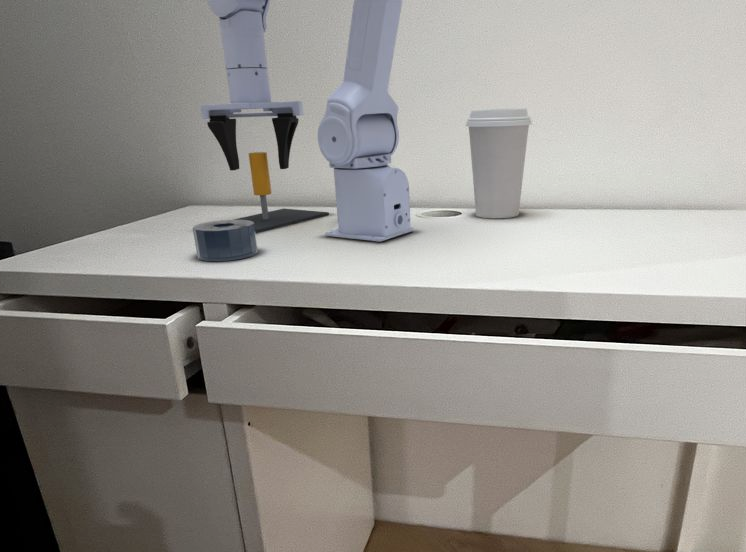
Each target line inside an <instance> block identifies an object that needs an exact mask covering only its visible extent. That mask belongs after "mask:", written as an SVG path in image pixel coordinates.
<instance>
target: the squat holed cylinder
mask: <svg viewBox="0 0 746 552" xmlns="http://www.w3.org/2000/svg"><path fill="white" fill-rule="evenodd" d="M192 232H193V239H194V240H193V241H194V245H195V250H196V255H197V258H198V260H201V261H203V262H229V261H230V262H232V261H238V260H243V259H248V258H250V257H253V256H255V255H257V254H258V241H257V235H256V234H257V233H255V226H254V222H252V221H249V220H234V219H221V220H213V221H207V222H206V221H205V222H201V223H197V224H195V225H194V226H193V227H192Z"/></svg>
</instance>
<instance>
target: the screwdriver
mask: <svg viewBox="0 0 746 552" xmlns="http://www.w3.org/2000/svg"><path fill="white" fill-rule="evenodd" d="M248 159H249V165H250V166H249V167H250V176H251V183H252V191H253V196H259V200H260V206H261V213H262V216H263V220H268V219H269V216H268V212H269V207H268V200H267V196H269V195H272V187H271V177H270V169H269V160H268V153H267V152H266V151H258V152H257V151H255V152H249V153H248Z"/></svg>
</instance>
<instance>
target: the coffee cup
mask: <svg viewBox="0 0 746 552" xmlns="http://www.w3.org/2000/svg"><path fill="white" fill-rule="evenodd" d="M531 125H533V121H532V119H531V116H530V115H529V113H528V109H527V108H492V109H491V108H489V109H471V111H470V114H469V117H468V118H467V120H466V123H465V127H468V135H469V145H470V146H469V147H470V157H471V169H472V171H471V173H472V184H473V195H474V197H473V198H474V207H475V216H476V217H478V218H483V219H510V218H515V217H518V216H519V215H520V208H521V207H520V206H521V197H522V189H523V178H524V169H525V161H526V152H527V143H528V135H529V128H530V126H531Z"/></svg>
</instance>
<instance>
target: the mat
mask: <svg viewBox="0 0 746 552" xmlns="http://www.w3.org/2000/svg"><path fill="white" fill-rule="evenodd" d="M329 215H330V212H329V211H318V210H306V209H293V208H279V209H276V210H271V211H268V216H269V219H268V220H263V216H262V212H261V213H257V214H253V215H252V214H251V215H247V216H244V217H239V218H233V220H249V221H252V222H254V226H255V234H257V233H261V232H265V231H266V232H267V231H269V230H274V229H277V228H281V227H286V226H290V225H294V224H297V223H301V222H306V221H310V220H313V219H318V218H322V217H325V216H329Z"/></svg>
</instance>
